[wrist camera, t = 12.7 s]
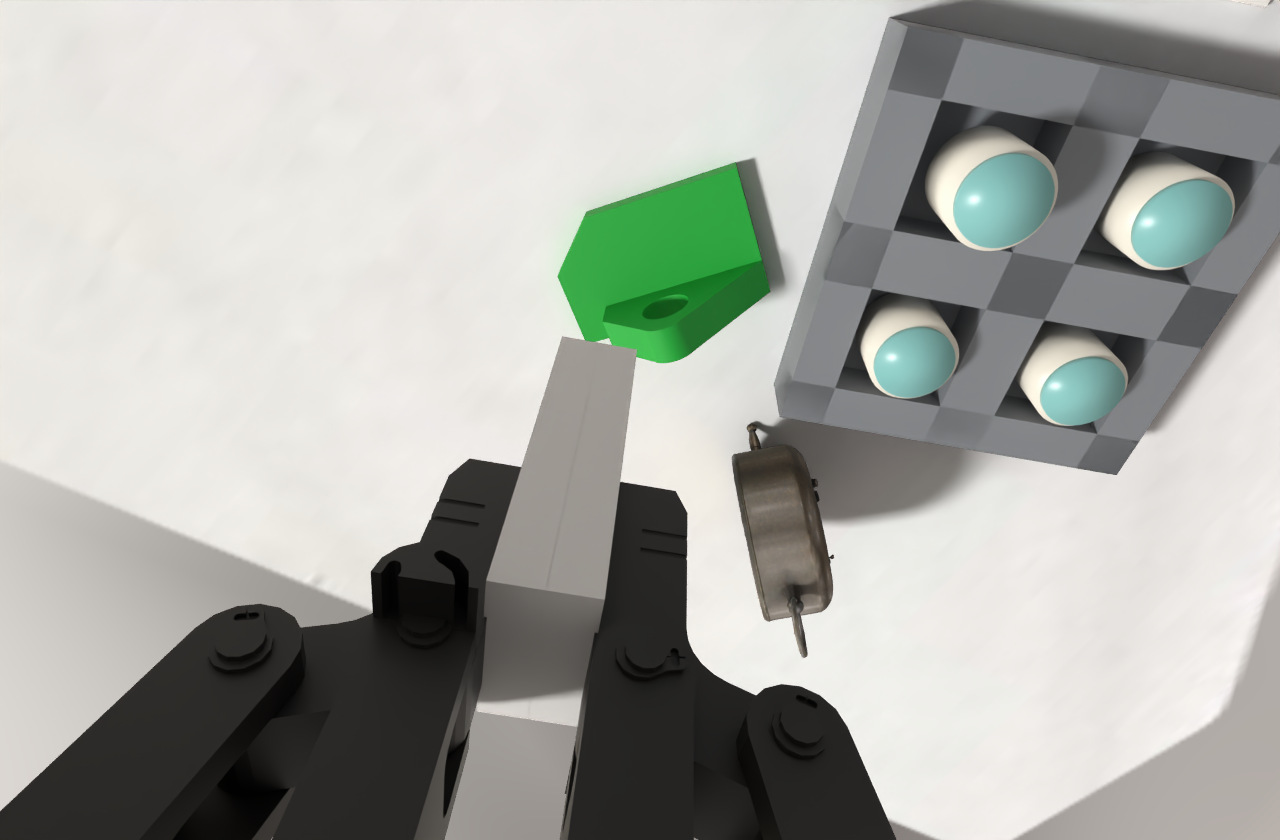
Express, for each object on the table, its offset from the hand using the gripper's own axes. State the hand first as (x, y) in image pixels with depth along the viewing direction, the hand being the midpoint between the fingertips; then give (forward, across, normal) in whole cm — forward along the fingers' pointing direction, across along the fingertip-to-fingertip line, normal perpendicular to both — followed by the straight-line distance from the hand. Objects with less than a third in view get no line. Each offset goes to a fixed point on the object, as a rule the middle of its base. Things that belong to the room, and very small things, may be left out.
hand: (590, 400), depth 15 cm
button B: (+29, +27, -10) cm, 41 cm away
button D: (+29, +17, -10) cm, 35 cm away
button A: (+29, +27, 0) cm, 40 cm away
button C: (+27, +17, 0) cm, 32 cm away
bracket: (+31, +2, -9) cm, 32 cm away
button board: (+30, +22, -5) cm, 38 cm away
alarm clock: (+31, +13, -23) cm, 40 cm away
